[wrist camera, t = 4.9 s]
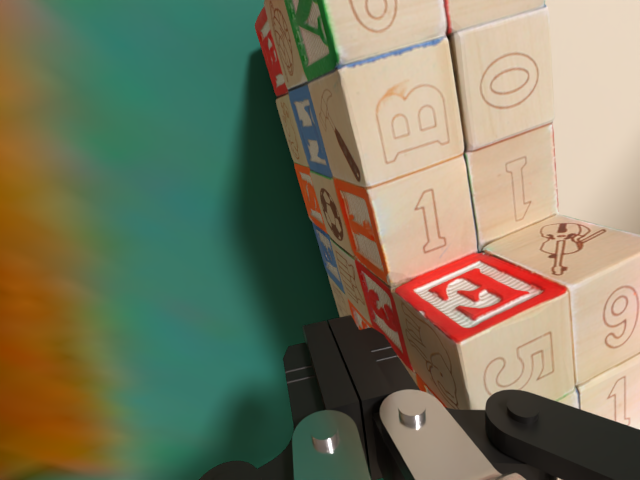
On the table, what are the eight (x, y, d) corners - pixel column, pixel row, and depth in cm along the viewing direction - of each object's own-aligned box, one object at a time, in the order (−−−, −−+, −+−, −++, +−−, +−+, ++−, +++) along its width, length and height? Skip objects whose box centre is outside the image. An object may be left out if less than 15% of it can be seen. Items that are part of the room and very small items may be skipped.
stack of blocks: (248, 23, 16) (352, -233, 5) (378, -8, 17) (706, -273, 6) (362, 403, 23) (512, 657, 12) (449, 362, 25) (660, 558, 13)
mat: (696, -54, 19) (705, -57, 19) (636, 349, 27) (641, 352, 26) (433, -23, 18) (437, -26, 17) (449, 394, 25) (452, 398, 25)
